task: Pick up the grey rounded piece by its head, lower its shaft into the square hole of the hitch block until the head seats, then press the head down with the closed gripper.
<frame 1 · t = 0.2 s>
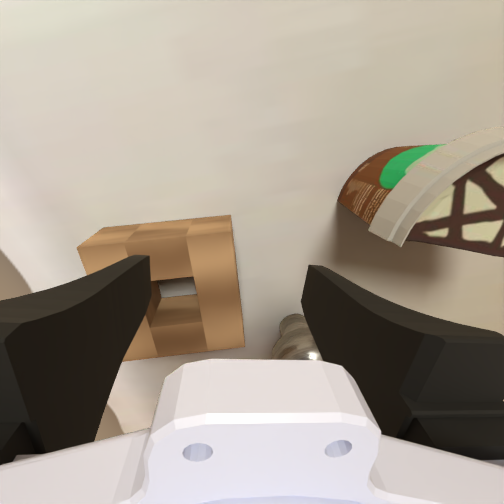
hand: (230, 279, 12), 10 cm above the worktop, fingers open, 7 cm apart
food container: (402, 172, 21), on the worktop
grey rounded piece: (294, 326, 26), on the worktop
hitch block: (179, 276, 23), on the worktop
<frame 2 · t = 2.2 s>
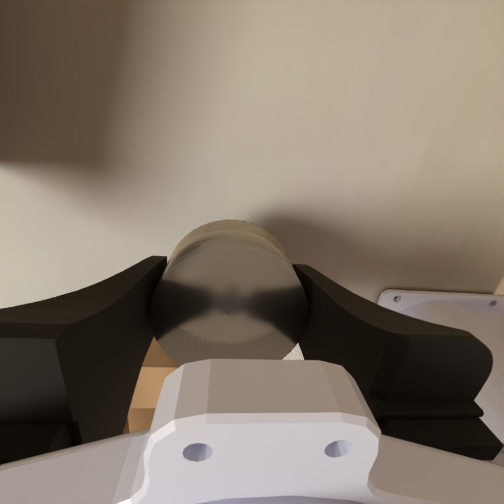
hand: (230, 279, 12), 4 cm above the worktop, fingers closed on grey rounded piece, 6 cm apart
grey rounded piece: (229, 248, 15), on the worktop, touching gripper
hitch block: (119, 374, 18), on the worktop
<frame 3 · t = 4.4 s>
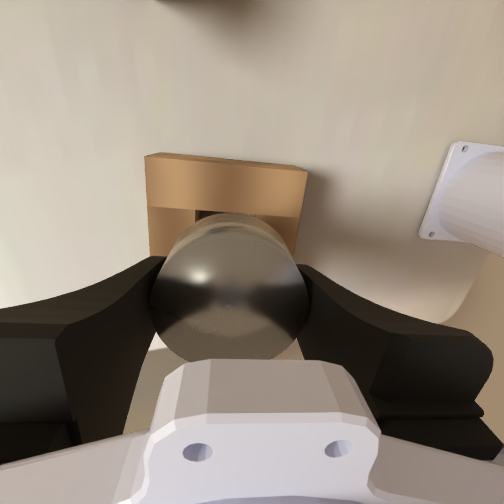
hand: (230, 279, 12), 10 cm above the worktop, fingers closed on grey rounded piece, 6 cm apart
grey rounded piece: (230, 243, 15), point 7 cm above the worktop, touching gripper
hitch block: (225, 222, 22), on the worktop
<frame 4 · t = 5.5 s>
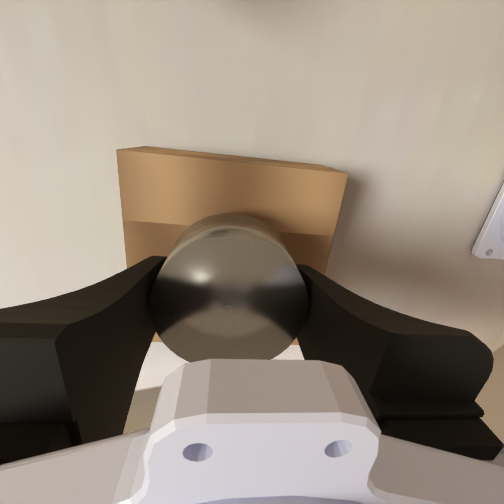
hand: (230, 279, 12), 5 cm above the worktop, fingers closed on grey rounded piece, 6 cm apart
grey rounded piece: (230, 244, 15), point 2 cm above the worktop, touching gripper
hitch block: (229, 238, 17), on the worktop
when the fingers open (5 cm above the worktop, at t = 6.4 s): grey rounded piece drops 1 cm, resting on hitch block.
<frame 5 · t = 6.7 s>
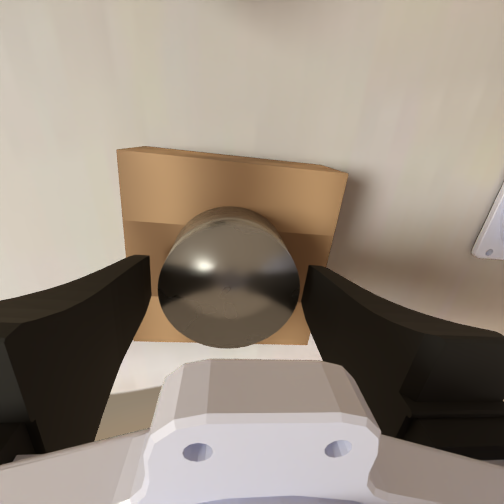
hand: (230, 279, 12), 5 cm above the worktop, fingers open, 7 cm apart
grey rounded piece: (229, 236, 16), resting on hitch block
hitch block: (229, 238, 17), on the worktop
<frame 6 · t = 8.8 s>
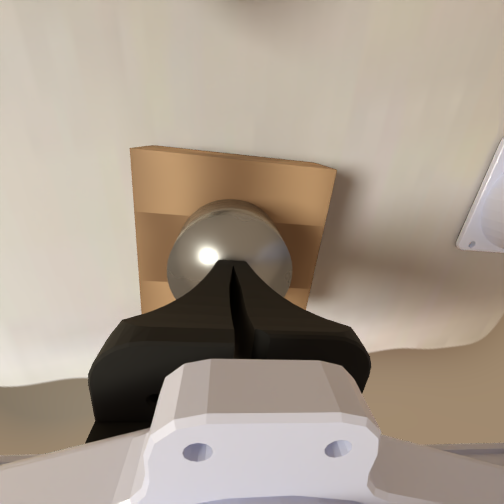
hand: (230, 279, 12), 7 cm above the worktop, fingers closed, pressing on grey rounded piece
grey rounded piece: (230, 229, 18), resting on hitch block, touching gripper
hitch block: (230, 230, 18), on the worktop
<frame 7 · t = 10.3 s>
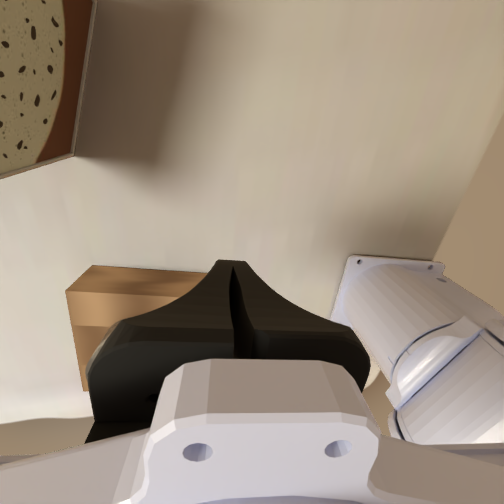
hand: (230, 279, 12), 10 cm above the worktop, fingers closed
food container: (34, 63, 17), on the worktop
hitch block: (154, 316, 25), on the worktop
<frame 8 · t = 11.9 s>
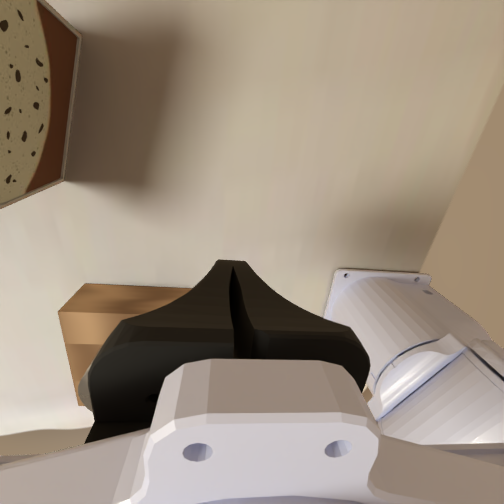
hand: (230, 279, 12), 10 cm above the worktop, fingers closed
food container: (23, 95, 17), on the worktop
grey rounded piece: (145, 332, 25), resting on hitch block
hitch block: (147, 331, 25), on the worktop
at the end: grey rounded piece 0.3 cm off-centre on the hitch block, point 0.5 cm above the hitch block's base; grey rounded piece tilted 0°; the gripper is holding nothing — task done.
